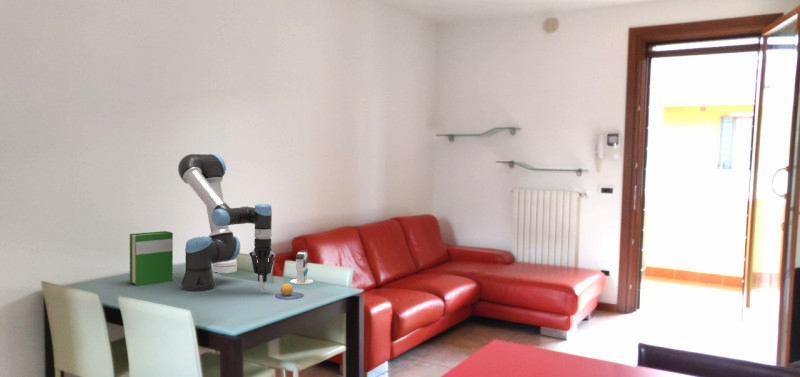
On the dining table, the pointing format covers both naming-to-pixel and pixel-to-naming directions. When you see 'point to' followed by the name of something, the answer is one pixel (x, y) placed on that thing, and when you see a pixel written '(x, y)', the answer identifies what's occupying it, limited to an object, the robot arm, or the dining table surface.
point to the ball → (286, 289)
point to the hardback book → (151, 258)
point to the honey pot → (225, 266)
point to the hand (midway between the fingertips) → (262, 288)
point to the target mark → (289, 296)
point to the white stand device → (301, 269)
